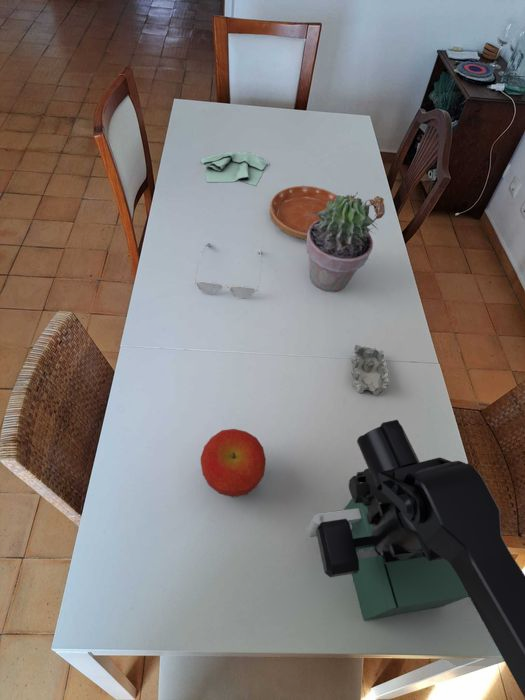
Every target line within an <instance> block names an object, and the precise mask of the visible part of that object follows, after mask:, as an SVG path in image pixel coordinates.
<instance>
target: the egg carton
mask: <svg viewBox="0 0 525 700" xmlns="http://www.w3.org/2000/svg"><path fill="white" fill-rule="evenodd" d="M351 363H352V369H351V375H352V377H353V380H352V382H351V387H352V388H353V389H355V390H356V392H357V393H359V394H363V393H364V391H370V392H371V393H372V395H373V396H378V395H379V394H380V393H382V392H383V391H385V389H387V388H388V386H389V375H388V363H387V360H386V357H385V352H384V350H377V348H371V347H367V346H361V345H358V344H355V346H354V350H353V354H352V356H351Z"/></svg>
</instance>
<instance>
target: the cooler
mask: <svg viewBox="0 0 525 700" xmlns="http://www.w3.org/2000/svg"><path fill="white" fill-rule="evenodd" d="M367 508H368V506H367ZM368 511H369V509H368ZM384 566H385V570H386V573H387V577H388V580H389V583H390V587H391V590H392V594H393V597H394V601H395V604H396V608H395V609H393V610H390V611H388V612H386V613H384V614H381V615H379V616H377V617H375V618H372V619H371V620H377V619H381V618H387V617H394V616H399V615H404V614H405V615H406V614H410V613H416V612H420V611H427V610H432V609H438V608H442V607H445V606H447V605H451V604H453V603H456V602H459V601H462V600H464V599H466V598H470V597H469V595H468V593H467V591H466V590H465V588H464V586H463V584H462V582H461V580H460V579H459V577H458V575H457V573H456V572H455V570H454V569H453V567H452V566H451V564H450V563H449V562H448V561H447V560H445V559H439V560H434V561H431V562H430V561H428V560H427V558H426V557H422V558H418V559H412V560H406V561H399V562H393V563H387V564H384Z"/></svg>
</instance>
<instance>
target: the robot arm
mask: <svg viewBox="0 0 525 700" xmlns="http://www.w3.org/2000/svg"><path fill="white" fill-rule="evenodd" d="M356 443H357V445H358V448H359V451H360V452H361V455H362V457H363V459H364V462H365V465H366V466H367V468H365V469H363V471H357V472H356V474H355V475H353V476H352V477H350V479H349V481H348V490H349V493H350V496H351V499H352V498H353V501H354V503H362V504H363V505H364V506H368V509H369V511H368V512H367V514H366V517H367V520H368V524H372V525H373V528H372V536H368V537H361V538H355V539H353V536H352V532H351V528H350V524H349V522H348V521H347V519H340V520H333V521H327V522H321V523H320V525H319V527H318V528H317V530H316V533H317V536H316V538H317V543H318V547H319V552H320V558H321V562H322V566H323V573H324V574H325V575H326V576H328V577H329V578H335V577H342V576H347V575H348V576H349V575H352V574H354V573H358V571H359V560H358V559H364V558H370V557H376V556H381V557H382V561H383V564H387V563H393V562H399V561H406V560H412V559H418V558H422V557H426V558H427V560H428V561H430V562H431V561H434V560H439V559H445V560H447V561H448V562H449V563H450V564H451V566H452V567H453V569H454V570H455V572H456V573H457V575H458V577H459V579H460V580H461V582H462V584H463V586H464V588H465V590H466V591H467V593H468V595H469V597H468V598H469V599H470V601H471V602H472V604H473V606H474V608H475V609H476V612H477V613H478V615H479V617H480V619H481V621H482V622H483V625H484V626H485V628H486V630H487V632H488V633H489V635H490V637H491V639H492V641H493V642H494V643H493V644H494V645H495V646H496V648H497V650H498V652H499V654H500V656H501V657H502V659H503V661H504V663H505V664H506V667H507V668H508V670H509V672H510V674H511V675H512V677H513V680H514V681H515V683H516V685H517V686H518V688H519V690H520V693H521V694H522V696H523V697H524V699H525V573H524V572H523V570H522V569H521V567H520V565H519V564H518V562H517V561H516V559H515V558H514V556H513V554H512V553H511V551H510V550H509V548H508V546H507V544H506V542H505V540H504V538H503V537H502V520H501V510H500V508H499V506H498V504H497V502H496V500H495V498H494V497H493V495H492V493H491V491H490V489H489V487H488V485H487V483H486V480H485V479H484V478H483V476H482V475H481V474H480V472H479V471H478V470H477V469H476V468H475V467H474V466H473V465H472V464H470V463H469V462H467V463H465V462H464V461H461V460H454V461H451V460H449V459H446V458H444V457H440V456H439V457H435V458H432V459H427V460H423V461H420V460H419V457H418V455H417V453H416V452H415V450H414V448H413V446H412V443H411V442H410V440H409V438H408V435H407V434H406V432H405V429H404V428H403V426H402V424H401V423H400V421H399V420H398V419H394V420H389V421H385V422H382V423H381V424H380V426H378V427H375V428H373V429H371V430H369V431H368V432H366V433H364V434H362V435H360V436H358V437H357V440H356ZM374 546H375V548H374V550H373V548H371V550H370V548H369V549H368V551H367V549H365V551H364V549H362V552H361V550H359V552H358V551H357V550H356V549H361V548H367V547H374Z"/></svg>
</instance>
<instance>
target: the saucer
mask: <svg viewBox="0 0 525 700" xmlns="http://www.w3.org/2000/svg"><path fill="white" fill-rule="evenodd" d="M337 196H338V194H336V193H333V192H331V191H329V190H327V189H324V188H320V187H317V186H309V185H298V186H297V185H296V186H291V187H287V188H284V189H281V190H280V191H279V192H277V193H276V194H274V196H273V197H272V198H271V201H270V204H269V216H270V218H271V221H272V222H273V223H274V224H275V225H276V227H277V228H278V229H280V230H281V231H282V232H284V233H286V234H287V235H290V236H292V237H295V238H298V239H302V240H306V241H307V233H308V230H306V229H309V228H310V226H311V225H312V224H313V223H314V222H316V221H318V220H320V217H319V216H318V214H313V213H319V212H321V211H323V210H325V209H326V208H327V202H328V201H333V202H334V201H335V199H336V197H337ZM308 214H311V215H308ZM299 229H300V230H299ZM304 230H306V231H304Z"/></svg>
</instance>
